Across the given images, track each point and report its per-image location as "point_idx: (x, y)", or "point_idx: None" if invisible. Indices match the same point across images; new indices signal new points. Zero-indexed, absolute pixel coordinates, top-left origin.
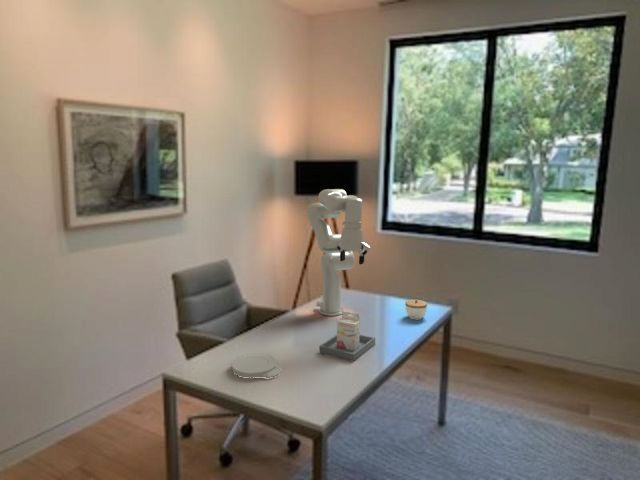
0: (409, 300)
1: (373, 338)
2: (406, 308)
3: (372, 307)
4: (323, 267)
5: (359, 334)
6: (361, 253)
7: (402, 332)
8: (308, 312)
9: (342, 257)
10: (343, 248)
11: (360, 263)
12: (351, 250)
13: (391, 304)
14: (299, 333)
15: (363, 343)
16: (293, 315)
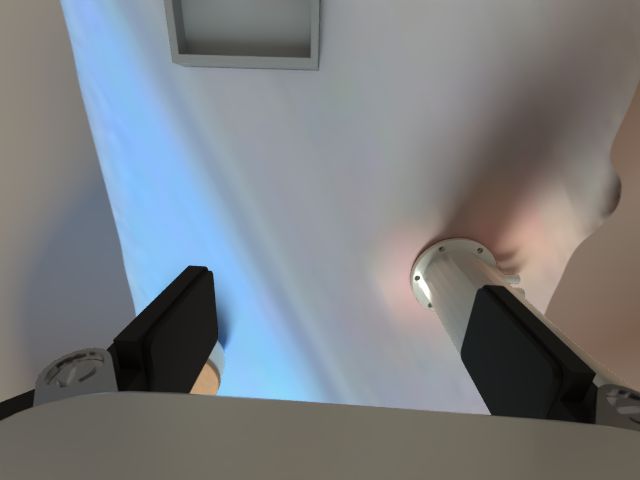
0: (210, 390)
1: (174, 51)
2: None
3: (346, 363)
4: (625, 382)
5: (241, 64)
6: (53, 393)
7: (170, 220)
8: (528, 237)
9: (500, 328)
10: (632, 454)
11: (185, 272)
12: (285, 403)
13: None
14: (489, 10)
15: (214, 37)
16: (574, 183)
